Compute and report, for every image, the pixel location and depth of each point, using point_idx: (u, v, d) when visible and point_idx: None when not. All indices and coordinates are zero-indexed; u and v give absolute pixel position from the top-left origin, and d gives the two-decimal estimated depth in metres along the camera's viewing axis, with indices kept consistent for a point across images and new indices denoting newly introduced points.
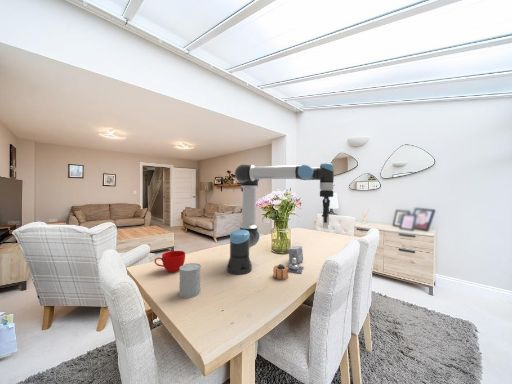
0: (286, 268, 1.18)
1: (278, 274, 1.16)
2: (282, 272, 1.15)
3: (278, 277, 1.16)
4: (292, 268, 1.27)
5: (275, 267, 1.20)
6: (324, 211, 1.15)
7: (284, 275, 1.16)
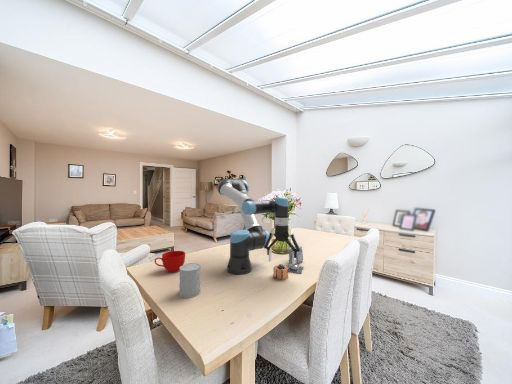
0: (286, 268, 1.18)
1: (278, 274, 1.16)
2: (282, 272, 1.15)
3: (278, 277, 1.16)
4: (292, 268, 1.27)
5: (275, 267, 1.20)
6: (266, 243, 1.23)
7: (284, 275, 1.16)
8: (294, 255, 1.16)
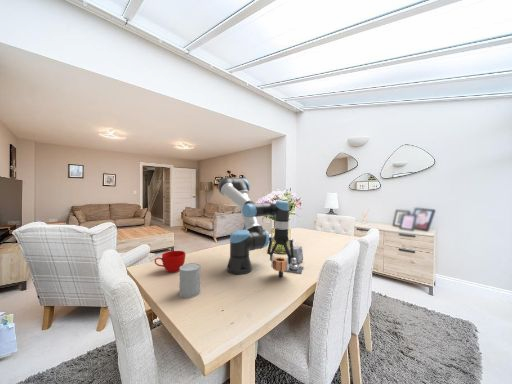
0: (285, 260, 1.19)
1: (277, 266, 1.16)
2: (281, 264, 1.16)
3: (277, 269, 1.17)
4: (292, 268, 1.27)
5: (274, 259, 1.20)
6: None
7: (283, 267, 1.16)
8: (288, 261, 1.18)
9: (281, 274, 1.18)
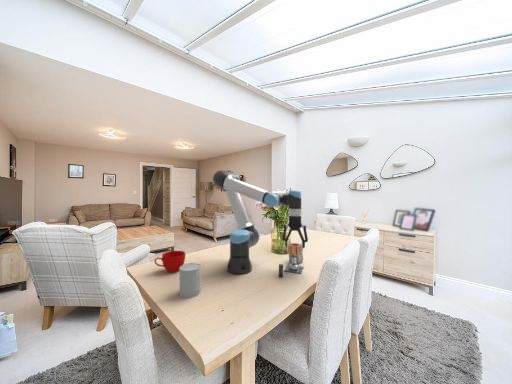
0: (300, 245, 1.28)
1: (293, 250, 1.26)
2: (296, 248, 1.25)
3: (293, 253, 1.26)
4: (292, 268, 1.27)
5: (289, 244, 1.30)
6: (283, 235, 1.33)
7: (298, 251, 1.26)
8: (302, 245, 1.27)
9: (281, 274, 1.18)
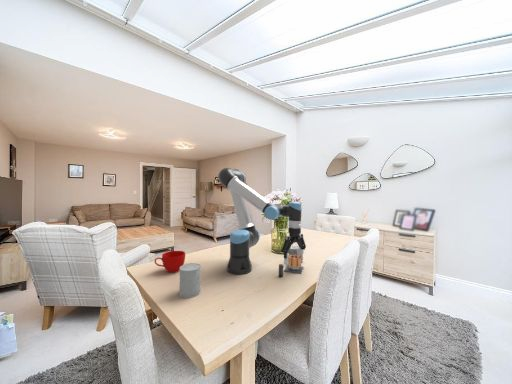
0: (298, 255, 1.31)
1: (299, 262, 1.26)
2: None
3: (298, 265, 1.26)
4: (292, 268, 1.27)
5: (292, 258, 1.27)
6: (283, 248, 1.24)
7: None
8: (302, 251, 1.34)
9: (281, 274, 1.18)
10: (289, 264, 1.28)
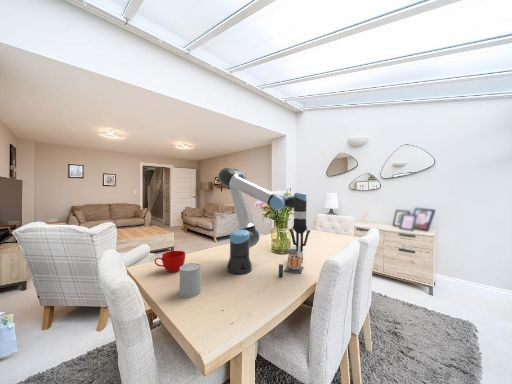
0: None
1: (299, 262, 1.26)
2: None
3: (298, 265, 1.26)
4: (292, 268, 1.27)
5: (292, 258, 1.27)
6: None
7: None
8: (300, 249, 1.28)
9: (281, 274, 1.18)
10: (289, 264, 1.28)
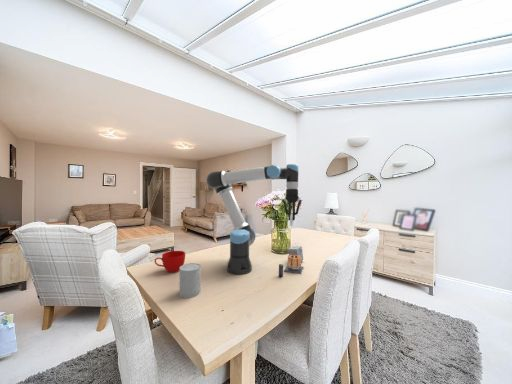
0: (298, 255, 1.31)
1: (299, 262, 1.26)
2: None
3: (298, 265, 1.26)
4: (292, 268, 1.27)
5: (292, 258, 1.27)
6: None
7: None
8: (292, 218, 1.34)
9: (281, 274, 1.18)
10: (289, 264, 1.28)
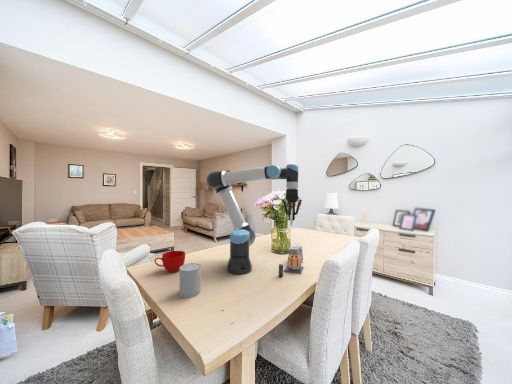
0: (298, 255, 1.31)
1: (299, 262, 1.26)
2: None
3: (298, 265, 1.26)
4: (292, 268, 1.27)
5: (292, 258, 1.27)
6: None
7: None
8: (292, 217, 1.34)
9: (281, 274, 1.18)
10: (289, 264, 1.28)
